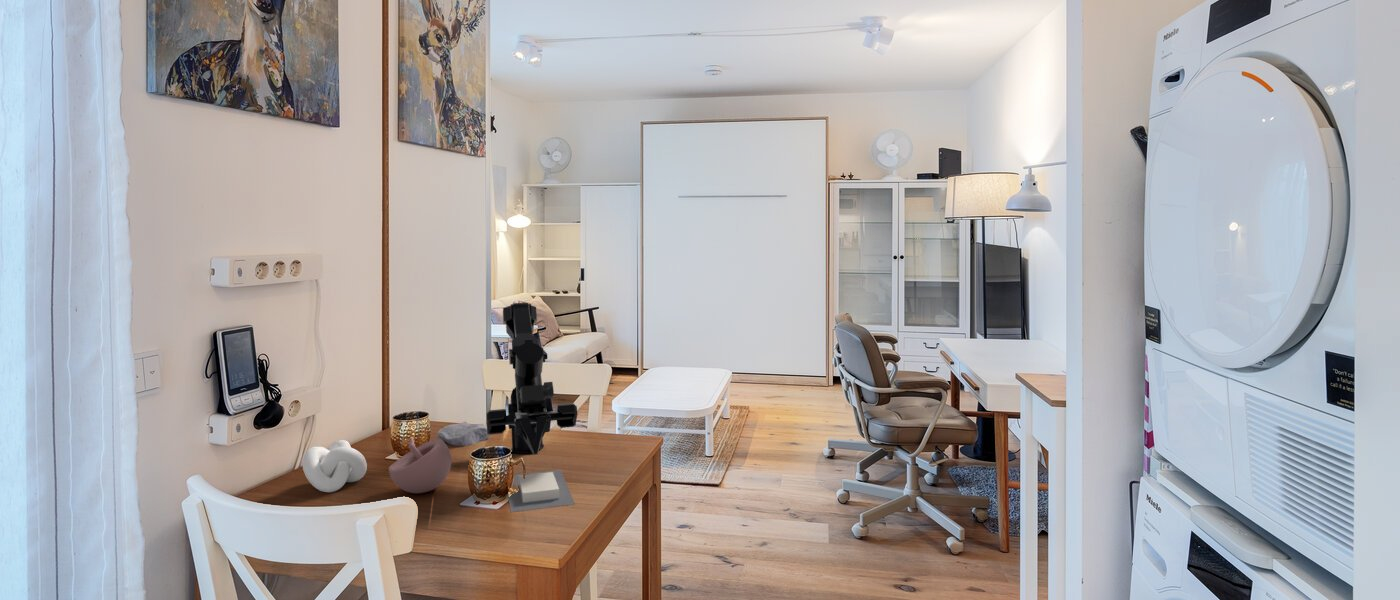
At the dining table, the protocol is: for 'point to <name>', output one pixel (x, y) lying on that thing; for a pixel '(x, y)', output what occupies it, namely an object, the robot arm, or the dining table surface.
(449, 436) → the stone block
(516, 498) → the mat
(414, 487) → the mortar and pestle
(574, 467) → the dining table surface
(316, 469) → the white knot sculpture
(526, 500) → the tile
